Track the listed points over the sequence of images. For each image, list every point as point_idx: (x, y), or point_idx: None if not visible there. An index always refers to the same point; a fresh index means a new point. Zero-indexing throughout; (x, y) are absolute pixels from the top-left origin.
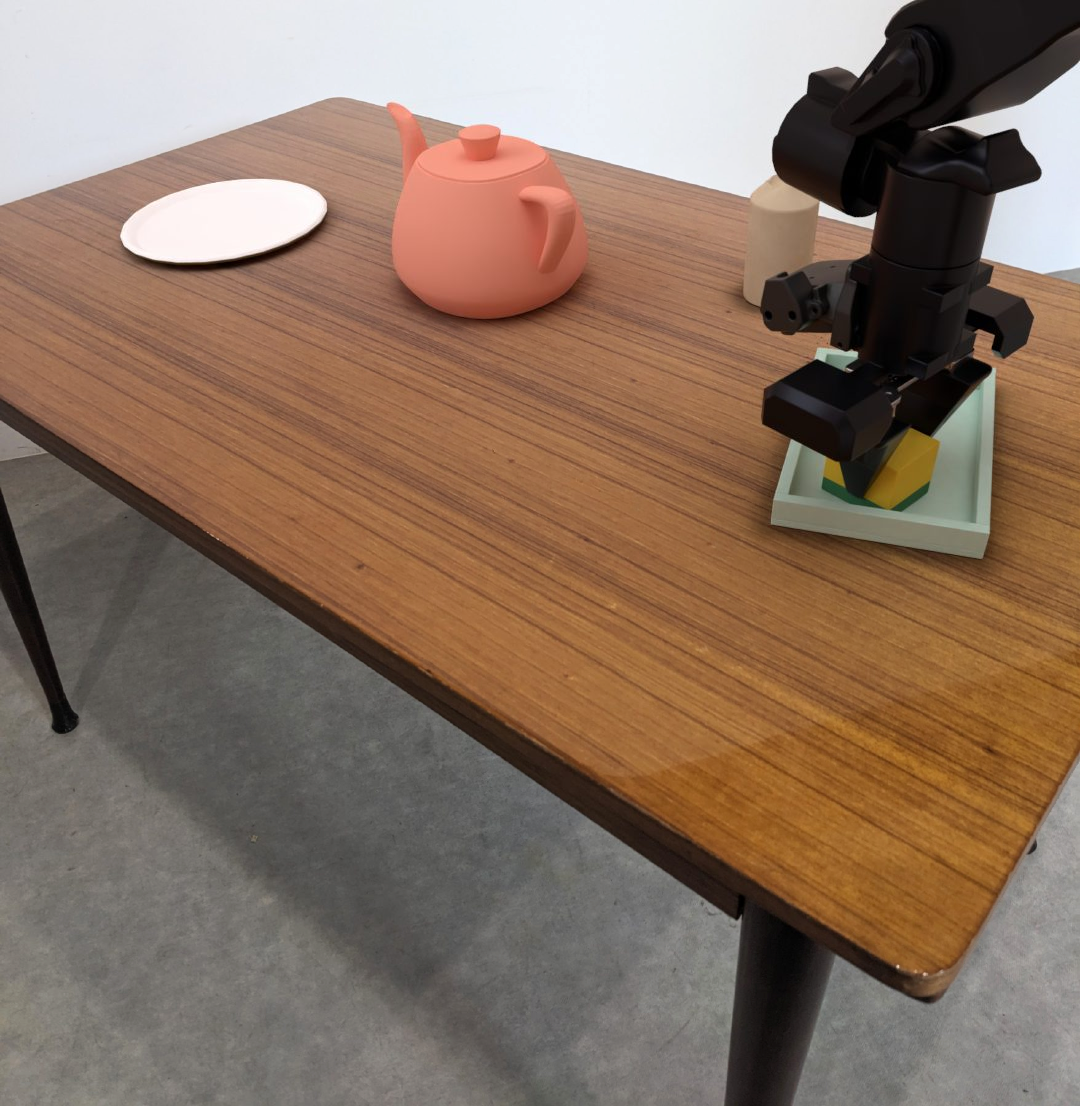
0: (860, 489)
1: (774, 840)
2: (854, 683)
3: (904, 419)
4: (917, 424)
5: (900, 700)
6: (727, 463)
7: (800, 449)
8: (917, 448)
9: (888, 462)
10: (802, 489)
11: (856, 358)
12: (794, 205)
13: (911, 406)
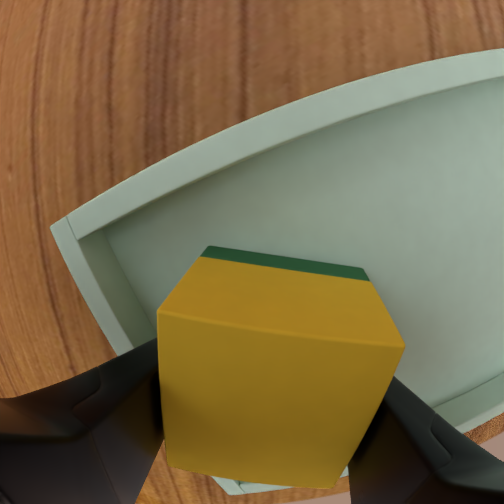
0: None
1: None
2: (15, 396)
3: (377, 435)
4: (363, 461)
5: None
6: (193, 23)
7: (243, 158)
8: (277, 475)
9: (179, 452)
10: (183, 212)
11: None
12: None
13: (388, 475)
